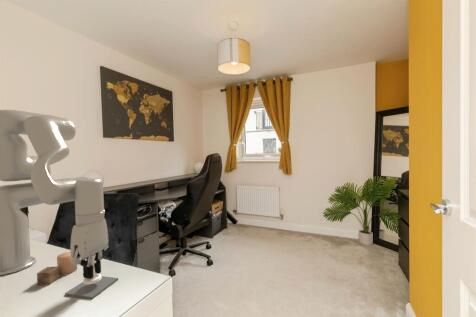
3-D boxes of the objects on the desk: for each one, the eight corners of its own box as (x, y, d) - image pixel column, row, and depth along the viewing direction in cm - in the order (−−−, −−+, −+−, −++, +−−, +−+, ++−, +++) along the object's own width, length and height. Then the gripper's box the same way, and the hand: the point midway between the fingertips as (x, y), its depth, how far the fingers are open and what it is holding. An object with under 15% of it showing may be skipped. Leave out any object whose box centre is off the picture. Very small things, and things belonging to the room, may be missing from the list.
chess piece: (92, 285, 67) (91, 252, 67) (79, 283, 68) (78, 251, 68) (105, 276, 72) (104, 246, 72) (92, 275, 73) (92, 245, 73)
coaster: (64, 295, 66) (64, 293, 66) (93, 276, 76) (93, 275, 76) (92, 299, 64) (92, 297, 64) (118, 279, 74) (118, 278, 74)
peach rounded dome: (53, 274, 78) (52, 257, 78) (69, 266, 84) (68, 250, 84) (65, 276, 77) (64, 259, 77) (80, 268, 82) (80, 252, 82)
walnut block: (37, 285, 72) (36, 273, 72) (47, 278, 76) (47, 267, 76) (50, 284, 72) (49, 272, 72) (59, 277, 76) (59, 266, 76)
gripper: (101, 211, 78) (103, 262, 79) (54, 225, 63) (57, 289, 63) (119, 211, 77) (121, 264, 77) (76, 226, 61) (78, 292, 61)
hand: (92, 274), depth 70 cm, fingers closed on chess piece
